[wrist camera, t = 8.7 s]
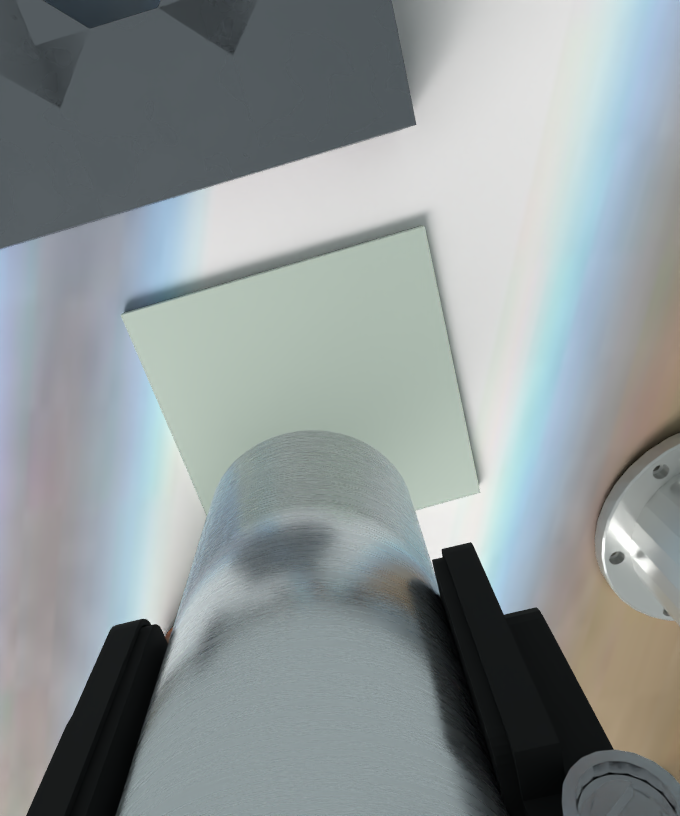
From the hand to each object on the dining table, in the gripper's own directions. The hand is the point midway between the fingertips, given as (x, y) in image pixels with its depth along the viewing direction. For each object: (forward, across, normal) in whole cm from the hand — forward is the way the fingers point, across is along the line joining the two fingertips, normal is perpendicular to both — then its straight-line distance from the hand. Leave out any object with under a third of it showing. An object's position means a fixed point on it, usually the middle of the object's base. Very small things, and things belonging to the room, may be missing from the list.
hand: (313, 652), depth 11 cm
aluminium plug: (+4, 0, 0) cm, 4 cm away
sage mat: (+19, 0, +3) cm, 19 cm away
